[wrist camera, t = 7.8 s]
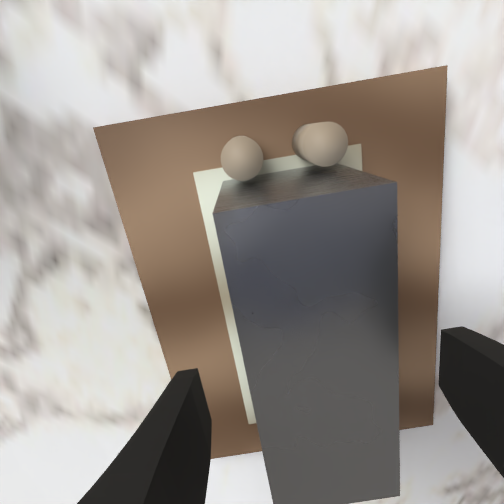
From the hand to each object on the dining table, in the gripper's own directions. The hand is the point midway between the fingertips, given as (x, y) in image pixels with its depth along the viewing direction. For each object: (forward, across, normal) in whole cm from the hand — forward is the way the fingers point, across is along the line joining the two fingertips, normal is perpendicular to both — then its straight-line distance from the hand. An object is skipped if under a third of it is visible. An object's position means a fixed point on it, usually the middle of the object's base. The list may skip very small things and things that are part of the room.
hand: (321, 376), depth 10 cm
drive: (+4, 0, -1) cm, 4 cm away
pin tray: (+5, 0, 0) cm, 5 cm away
